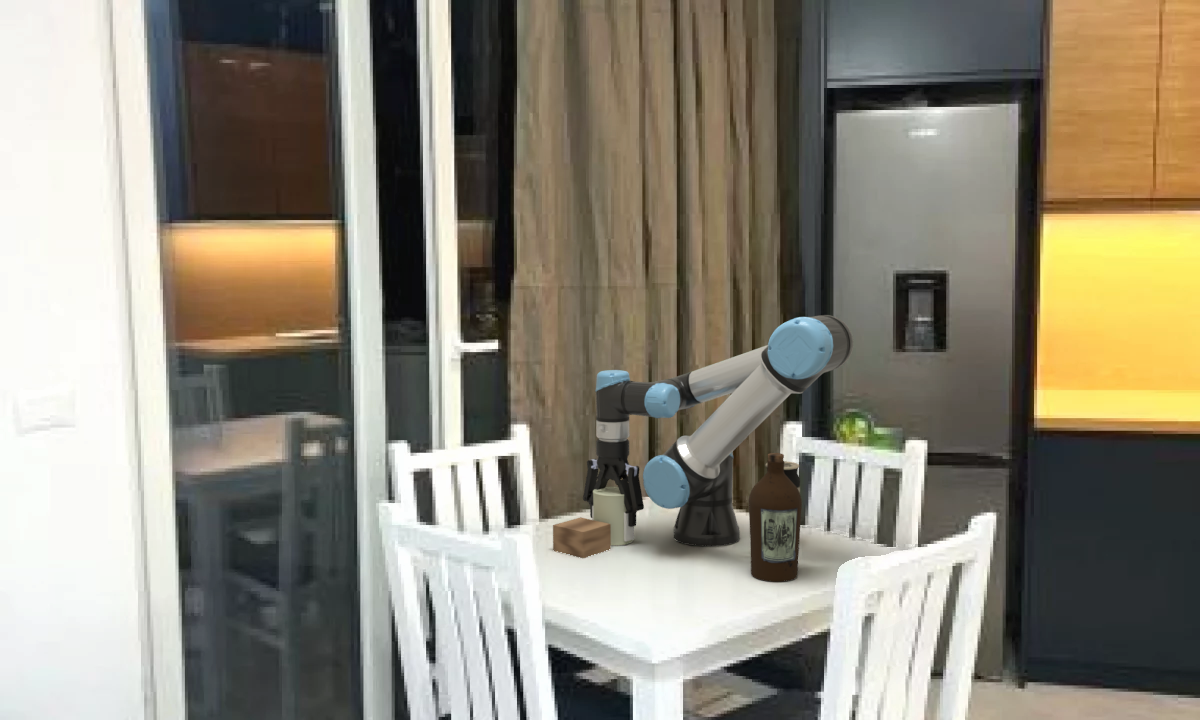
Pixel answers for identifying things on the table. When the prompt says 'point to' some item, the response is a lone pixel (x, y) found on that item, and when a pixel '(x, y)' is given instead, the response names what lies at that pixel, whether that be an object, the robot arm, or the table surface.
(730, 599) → the table surface
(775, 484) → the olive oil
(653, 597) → the table surface
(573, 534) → the walnut block
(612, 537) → the can
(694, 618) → the table surface
